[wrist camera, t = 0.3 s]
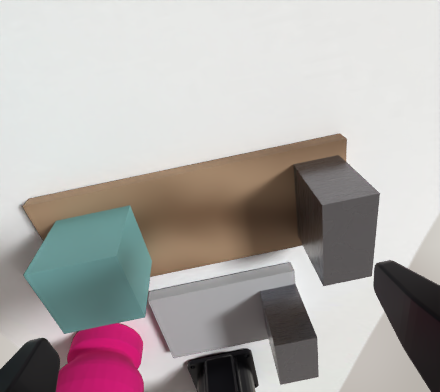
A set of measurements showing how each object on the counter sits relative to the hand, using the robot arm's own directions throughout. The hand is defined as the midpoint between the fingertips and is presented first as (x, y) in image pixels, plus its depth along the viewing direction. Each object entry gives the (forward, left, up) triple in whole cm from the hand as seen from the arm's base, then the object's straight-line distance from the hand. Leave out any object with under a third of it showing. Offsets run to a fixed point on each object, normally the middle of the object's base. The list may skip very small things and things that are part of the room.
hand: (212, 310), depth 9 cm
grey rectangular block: (-16, +1, -14) cm, 21 cm away
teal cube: (-6, +8, -12) cm, 16 cm away
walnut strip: (-6, +1, -14) cm, 15 cm away
